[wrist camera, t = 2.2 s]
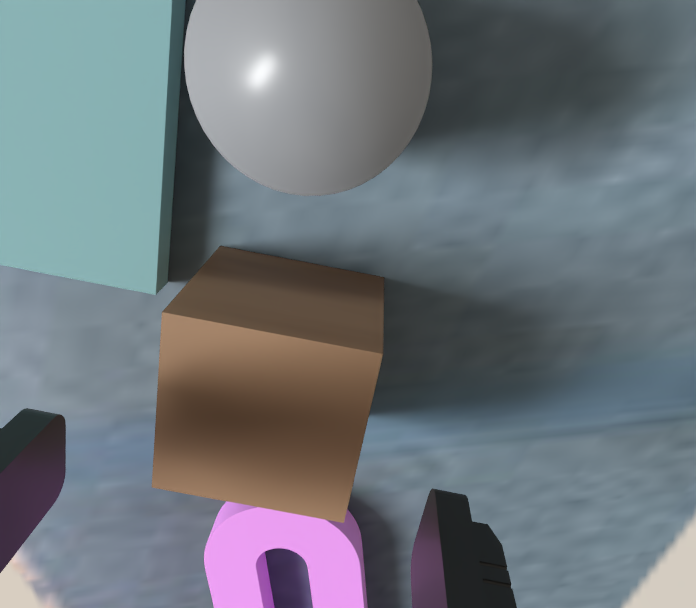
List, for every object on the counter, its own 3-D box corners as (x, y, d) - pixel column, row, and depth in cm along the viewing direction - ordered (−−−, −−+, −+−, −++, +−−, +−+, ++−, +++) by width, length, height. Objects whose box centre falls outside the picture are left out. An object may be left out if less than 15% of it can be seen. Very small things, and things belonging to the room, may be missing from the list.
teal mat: (-138, -164, 14) (-175, -180, 13) (191, -98, 14) (178, -109, 13) (-90, 232, 18) (-116, 242, 17) (167, 282, 18) (155, 294, 17)
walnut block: (220, 245, 18) (161, 312, 13) (384, 276, 18) (383, 354, 13) (207, 385, 20) (151, 486, 15) (353, 413, 20) (343, 523, 15)
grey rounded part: (261, -45, 15) (193, -98, 9) (435, -10, 15) (460, -45, 10) (242, 135, 16) (176, 171, 11) (397, 166, 16) (402, 215, 11)
